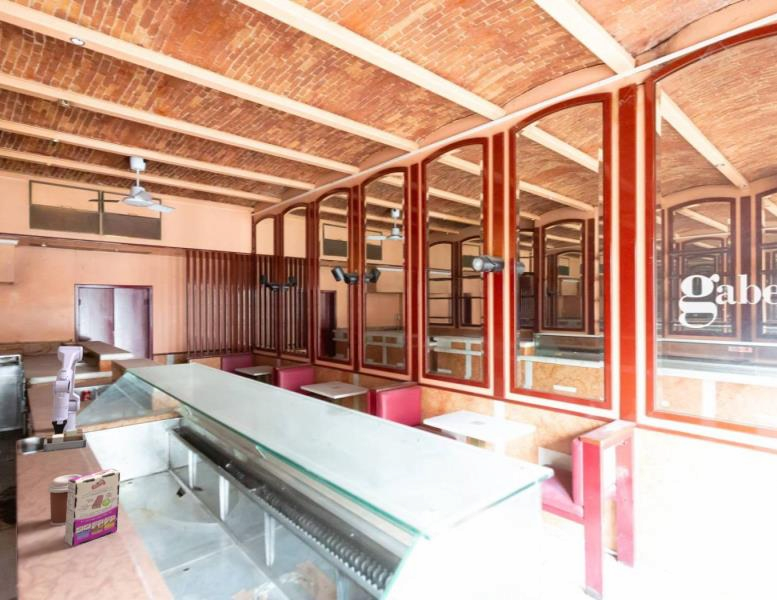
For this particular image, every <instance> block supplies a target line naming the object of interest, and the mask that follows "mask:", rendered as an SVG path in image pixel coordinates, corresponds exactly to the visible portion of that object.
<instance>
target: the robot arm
mask: <svg viewBox="0 0 777 600" xmlns="http://www.w3.org/2000/svg"><path fill="white" fill-rule="evenodd" d="M83 352H84V348H83V346H68V345H67V346H66V345H65V346H63V345H61V346H59V347H58V349H57V359H58V360H59V362H62V365H61V368H60V369H58V371H57V375H56V379H55V381H54V382H53V385H52V393H53V394H52V397H53V402H52V403H53V404H52V414H51V416H49V417H48V420H52V421H51V425H52V426H53V430H54V431H53V432H55V435H56V434H62V433H63V431H66V430H69V429H77V427H76V419H77V418H76V414H77V412H79V411H80V406H81V400H80V399H81V397H80V395H79V394H77V393H75V382H76V380H75V379H76V366H77V363H79V362H81V361H82V359H83Z"/></svg>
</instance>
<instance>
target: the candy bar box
mask: <svg viewBox="0 0 777 600" xmlns="http://www.w3.org/2000/svg"><path fill="white" fill-rule="evenodd" d="M120 481H121V471H120V470H117V469H114V468H109V469H105V470H104V469H103V470H100V471H96V472H92V473H89V474H85V475H81V477H77V478H73V479H69V480H68V496H67V513H66V525H65V530H64V531H65V533H64V534H65V535H64V543H66V544H67V545H68V546H70V547H72V548H74V547H77V546H78V547H79V545H84V544H86V543H88V542H89V543H90V541H94V540H96V539H99V538H102V537H105V536H108V535H109V534H112V533H113V534H114V533H115V532H117V531H118V519H119V497H120V485H121V484H120Z"/></svg>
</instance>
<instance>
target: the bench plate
mask: <svg viewBox="0 0 777 600" xmlns="http://www.w3.org/2000/svg"><path fill="white" fill-rule="evenodd" d="M62 434H64V438H63V442H68V441H78V440H82V435H84V432H83V429H82V428H81V429H78V428H77V435H71V436H66V431H63V433H62ZM53 435H55V431H45V438H47V444H49V443H52V438H53Z"/></svg>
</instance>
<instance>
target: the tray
mask: <svg viewBox="0 0 777 600" xmlns="http://www.w3.org/2000/svg"><path fill="white" fill-rule="evenodd" d="M81 448H87V439H86V434H84V433H83V435H82V440H78V441H68V442H61V443H49V444H47V438H46V437H45V438H44V440H43V452H44V453H45V452H54V451H55V450H56V451H65V450H72V449H81ZM56 451H55V452H56Z"/></svg>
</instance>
